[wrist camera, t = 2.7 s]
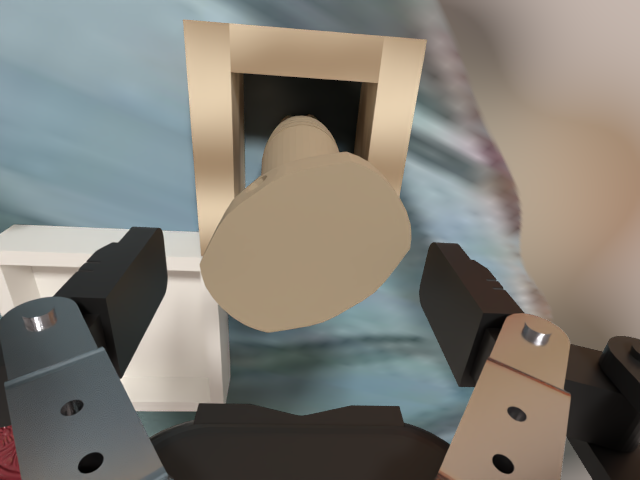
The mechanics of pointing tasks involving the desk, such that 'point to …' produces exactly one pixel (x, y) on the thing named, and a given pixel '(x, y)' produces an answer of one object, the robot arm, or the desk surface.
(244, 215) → the handle
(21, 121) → the desk surface
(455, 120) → the desk surface
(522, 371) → the robot arm
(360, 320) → the desk surface
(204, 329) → the tray
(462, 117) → the desk surface
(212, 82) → the socket block
